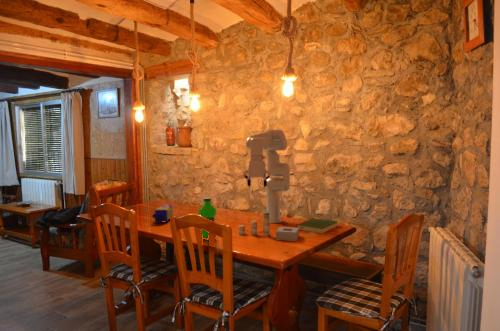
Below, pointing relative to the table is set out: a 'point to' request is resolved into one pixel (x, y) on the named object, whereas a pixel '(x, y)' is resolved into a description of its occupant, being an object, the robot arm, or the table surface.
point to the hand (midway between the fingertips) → (257, 186)
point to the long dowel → (266, 224)
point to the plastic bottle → (207, 213)
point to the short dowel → (241, 229)
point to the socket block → (287, 233)
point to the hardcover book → (317, 225)
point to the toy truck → (163, 213)
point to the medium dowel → (253, 227)
